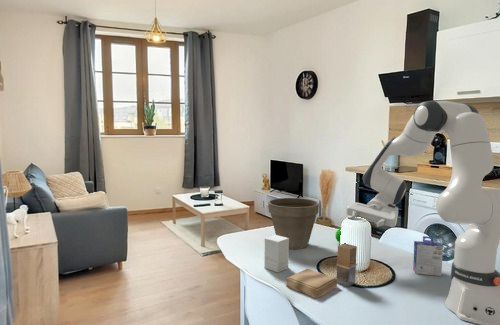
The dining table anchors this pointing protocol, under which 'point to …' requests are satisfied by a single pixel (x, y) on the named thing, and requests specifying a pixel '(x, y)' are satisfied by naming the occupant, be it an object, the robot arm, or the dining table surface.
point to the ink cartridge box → (428, 257)
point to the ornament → (338, 235)
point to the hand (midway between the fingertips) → (364, 221)
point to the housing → (346, 264)
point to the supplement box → (276, 253)
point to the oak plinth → (311, 283)
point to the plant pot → (294, 219)
